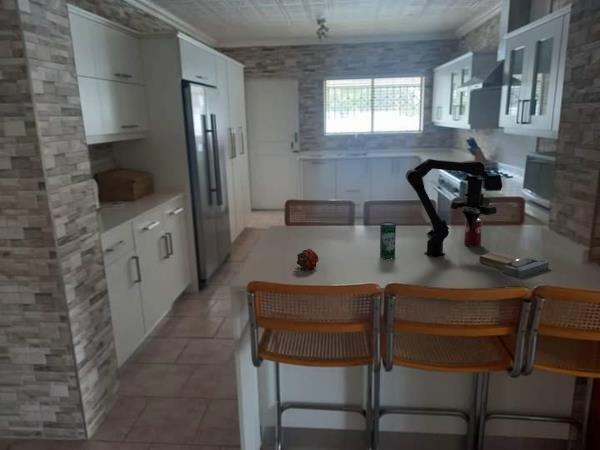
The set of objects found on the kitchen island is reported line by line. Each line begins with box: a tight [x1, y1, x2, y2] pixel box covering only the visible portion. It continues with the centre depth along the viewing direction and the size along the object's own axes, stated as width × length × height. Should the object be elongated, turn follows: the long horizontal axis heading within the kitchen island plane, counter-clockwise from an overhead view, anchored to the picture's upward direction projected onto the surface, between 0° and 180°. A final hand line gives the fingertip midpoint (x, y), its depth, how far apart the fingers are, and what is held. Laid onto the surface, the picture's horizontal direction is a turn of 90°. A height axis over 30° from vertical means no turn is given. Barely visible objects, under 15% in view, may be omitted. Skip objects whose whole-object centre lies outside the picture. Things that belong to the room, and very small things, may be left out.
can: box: [379, 221, 397, 260], centre depth 190 cm, size 6×6×15 cm
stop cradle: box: [502, 257, 550, 279], centre depth 171 cm, size 18×7×2 cm, turn 122°
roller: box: [508, 256, 532, 268], centre depth 173 cm, size 9×4×4 cm, turn 121°
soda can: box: [463, 218, 483, 248], centre depth 205 cm, size 7×7×12 cm
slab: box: [478, 251, 522, 270], centre depth 180 cm, size 10×12×3 cm
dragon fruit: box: [296, 248, 319, 270], centre depth 181 cm, size 8×8×12 cm
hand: (471, 227), depth 190 cm, fingers closed
